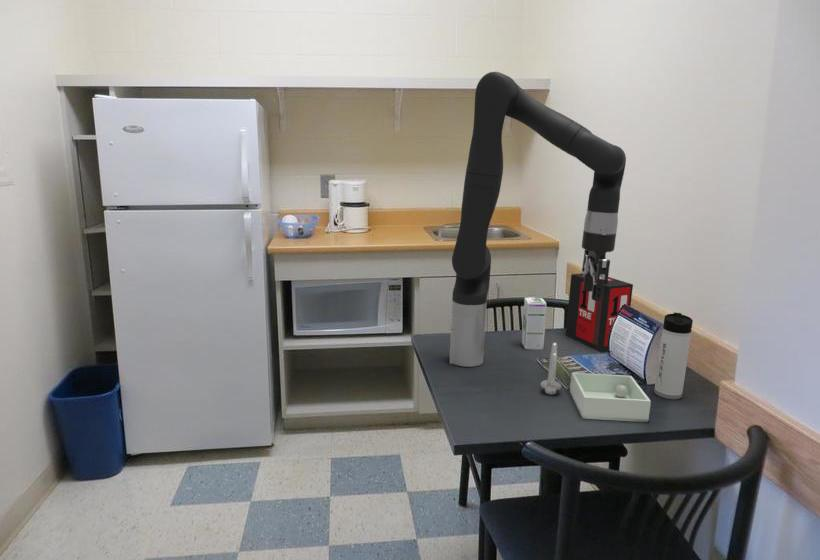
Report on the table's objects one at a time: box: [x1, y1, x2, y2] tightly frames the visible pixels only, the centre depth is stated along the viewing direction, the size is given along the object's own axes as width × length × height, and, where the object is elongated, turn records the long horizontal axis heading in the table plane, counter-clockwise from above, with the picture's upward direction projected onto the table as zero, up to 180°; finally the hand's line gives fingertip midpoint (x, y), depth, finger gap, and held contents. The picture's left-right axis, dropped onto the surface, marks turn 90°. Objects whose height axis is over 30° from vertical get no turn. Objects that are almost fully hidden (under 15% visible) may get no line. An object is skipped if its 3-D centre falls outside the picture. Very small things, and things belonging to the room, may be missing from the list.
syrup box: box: [521, 296, 547, 351], centre depth 171 cm, size 6×6×14 cm
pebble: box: [615, 385, 628, 398], centre depth 138 cm, size 3×3×3 cm
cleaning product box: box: [565, 272, 634, 354], centre depth 176 cm, size 16×9×20 cm, turn 24°
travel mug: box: [653, 312, 694, 400], centre depth 140 cm, size 6×7×20 cm
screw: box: [540, 341, 562, 396], centre depth 139 cm, size 13×5×5 cm
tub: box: [569, 372, 652, 423], centre depth 134 cm, size 14×14×5 cm
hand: (591, 295), depth 142 cm, fingers open, 8 cm apart
